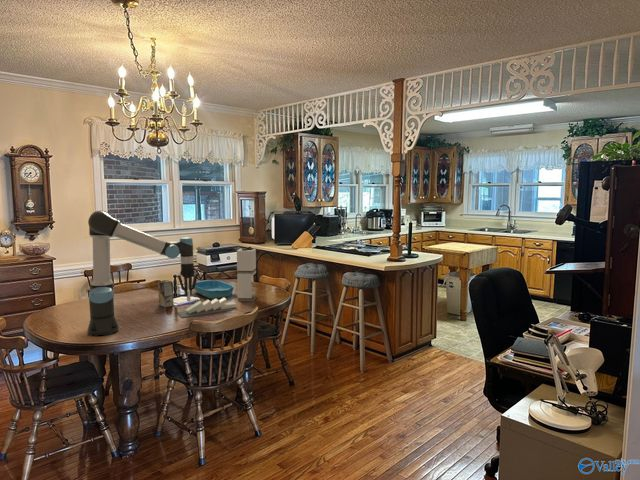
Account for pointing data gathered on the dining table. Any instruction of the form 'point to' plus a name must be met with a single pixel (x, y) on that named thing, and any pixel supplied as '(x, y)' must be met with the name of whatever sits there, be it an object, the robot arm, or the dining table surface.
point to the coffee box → (165, 293)
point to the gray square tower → (246, 274)
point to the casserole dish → (214, 288)
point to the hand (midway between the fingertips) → (188, 300)
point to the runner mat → (201, 312)
